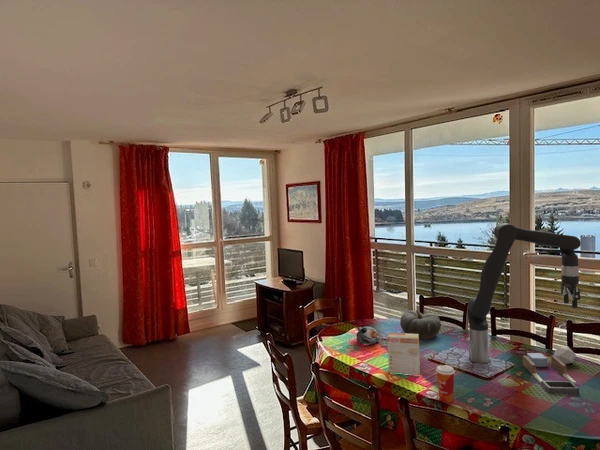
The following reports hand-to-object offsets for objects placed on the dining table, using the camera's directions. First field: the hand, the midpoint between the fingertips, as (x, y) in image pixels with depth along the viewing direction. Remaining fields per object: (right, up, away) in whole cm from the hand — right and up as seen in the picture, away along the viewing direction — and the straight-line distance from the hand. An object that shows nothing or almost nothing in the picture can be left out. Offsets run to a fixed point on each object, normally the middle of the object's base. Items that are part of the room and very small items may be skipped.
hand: (570, 305), depth 207 cm
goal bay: (-20, -31, -18) cm, 41 cm away
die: (-3, -30, 0) cm, 30 cm away
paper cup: (-76, -35, -32) cm, 89 cm away
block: (-17, -30, 0) cm, 35 cm away
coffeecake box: (-86, -34, -3) cm, 93 cm away
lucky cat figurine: (-96, -32, +41) cm, 110 cm away
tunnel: (-18, -31, -8) cm, 36 cm away
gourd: (-62, -30, +51) cm, 85 cm away
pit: (-23, -32, -28) cm, 49 cm away
